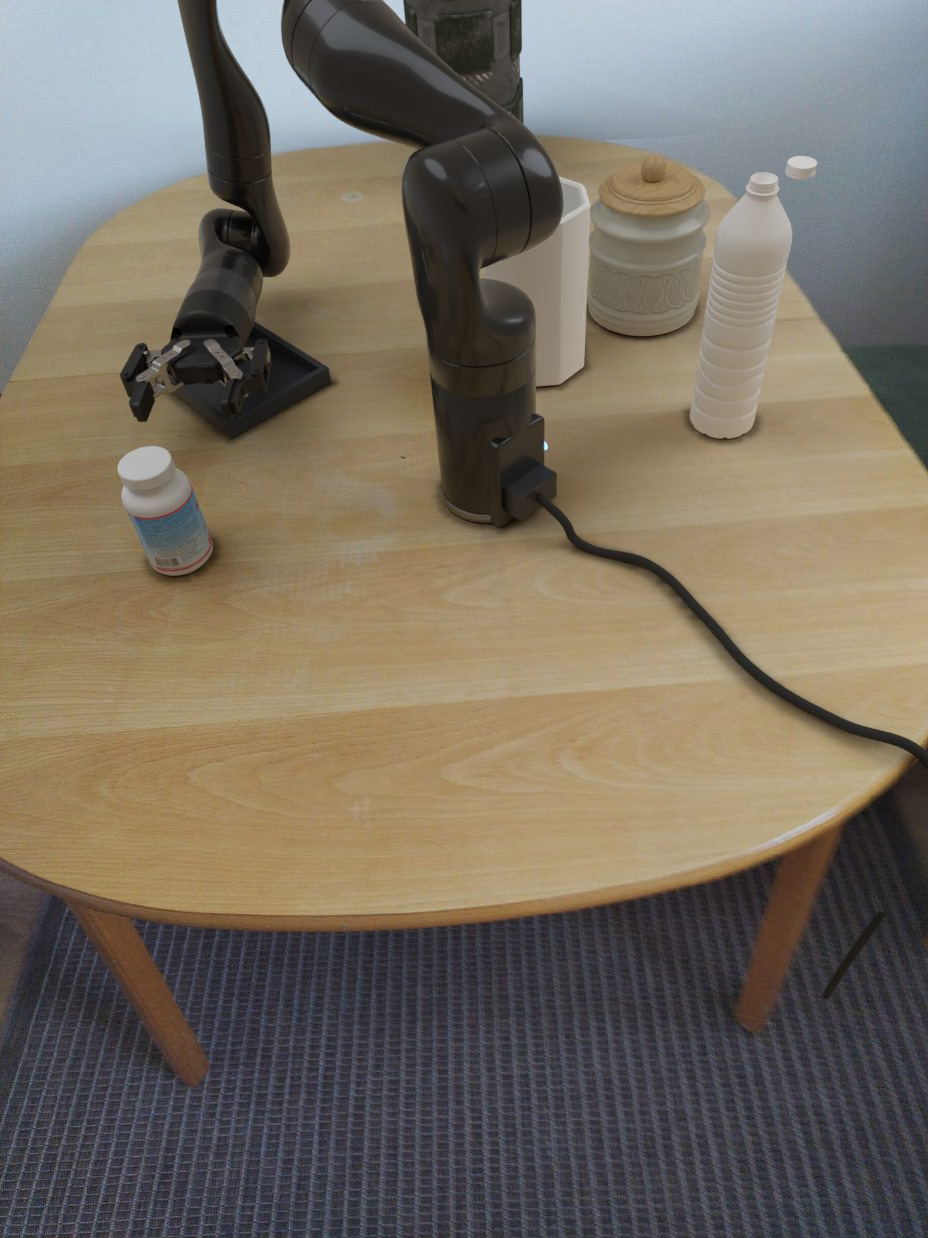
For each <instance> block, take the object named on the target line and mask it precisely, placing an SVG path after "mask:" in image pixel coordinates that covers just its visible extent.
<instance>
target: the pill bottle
mask: <svg viewBox="0 0 928 1238" xmlns="http://www.w3.org/2000/svg"><path fill="white" fill-rule="evenodd" d="M117 473H118V476H119V478H120V481H121V484H122V485H123V486H122V489H121V495H120V497H121V503H122V505H123V508H124V510H125V512H126V515H127V517H128V519H129V521H130V523H131V526H132V528H133V529H134V532H135V534H136V536H137V539H138V541H139V543H140V545H141V547H142V549H143V552H144V554H145V556H146V559H147V560H148V562H149V564H150V566H151V567H152V569H153V570H155V571H156V572H158V573H159V574H162V575H165V576H171V577H172V576H175V577H176V576H183V575H187V574H190V573H193V572H195V571H196V570H198V569H199V568H201V567H202V566H203V565H204V564H205V563H206V562H207V561H208V560H209V559H210V557H211V555H212V553H213V549H214V542H213V539H212V536H211V533H210V530H209V528H208V526H207V523H206V520H205V518H204V515H203V512H202V509H201V508H200V505H199V502H198V499H197V496H196V494H195V491H194V489H193V486H192V484H191V481H190V479H189V477H188V476H187V474H185V472H184V471H182V470H181V469H179V468H177V467H176V464H175V461H174V459H173V457H172V455H171V453H170V451H168V449H166V448H164V447H161V446H157V445H148V446H141V447H137V448H135V449H133V450H131V451H129V452H128V453H126V454H125V455H124V456H123V457H122V458H121V459H120V460H119V461H118V464H117Z"/></svg>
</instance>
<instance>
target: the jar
mask: <svg viewBox="0 0 928 1238" xmlns="http://www.w3.org/2000/svg"><path fill="white" fill-rule="evenodd" d="M705 195H706V187H705V184H704V182H703V181H702V180H701V179H700V178H699V177H698V176H696V175H694V174H692V172H690V171H689V170H687V169H686V168H685V167H683V166H681V165H677V164H675V163H670V162H666V161H665V159H664V158H663V157H662V156H661V155H659V154H651V155H648V156H646V157H645V159H644V160H643V161H641V162H636V163H632V164H629V165H628V164H627V165H625V166H623V167H622V168H620V169H618V170H616V172H614V173H612V174H610V175H609V176H607V177H606V178H604V180H602V182H601V183H600V185H599V187H598V197H597V198H596V199H595V201H594V202H593V203H592V205H591V206H590V221H591V222H592V224H593V230H592V232H591V233H590V234H589V266H588V283H587V306H588V312H589V315H590V316H591V318H592V319H593V320H594V321H595V322H596V323H597V324H598V325H599V326H601V327H602V328H605V329H607V330H609V331H611V332H615V333H617V334H621V335H626V336H634V337H652V336H653V337H654V336H658V335H659V336H660V335H663V334H667V333H671V332H674V331H676V330H678V329H680V328H682V327H683V326H685V325H686V324H688V323H689V322H690V321H691V320H692V318H693V316H694V314H695V311H696V308H697V307H698V303H699V299H700V294H701V293H700V292H701V291H700V280H701V273H702V265H703V259H704V251H705V250H706V247H707V237H706V234H705V233H704V227H705V226H706V225H707V224H708V222H709V220H710V218H711V209H710V206H709V204H708V202H707V201H706V200H705V199H704V198H705Z"/></svg>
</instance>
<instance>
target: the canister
mask: <svg viewBox="0 0 928 1238" xmlns="http://www.w3.org/2000/svg"><path fill="white" fill-rule="evenodd" d="M402 3H403V13H404V23H405V24H406V26H407V27H408V28H409V29H410V30H411V31H412V32H413V33H414V34H415V35H416V36H417V37H418V38H419V39H420V40H421V41H422V42H424V43H425V44H426V45H427V46H428V47H429V48H430V49H431V50H432V51H433V52H434V53H435V54H436V55H438V56H439V57H440V58H441V59H442V60H443V61H444V62H445V63H446V64H447V65H448V66H449V67H451V68H452V69H453V70H454V71H455V72H456V73H457V74H458V75H460V76H461V77H462V78H463V79H465V80H466V81H467V82H469V83H470V84H471V85H472V86H474V87H475V88H476V89H478V90H479V91H480V92H482V93H483V94H485V95H486V96H487V97H489V98H490V99H491V100H493V101H494V102H495V103H497V104H498V105H499V106H501V107H502V108H503V109H505V110H506V111H507V112H509V113H510V114H511V115H513V116H514V117H515V118H517V119H518V120H519V121H520V122H521V123H523V124H524V123H525V122H524V121H525V120H524V78H523V77H522V76H521V57H520V55H521V54H522V51H523V18H522V17H523V12H522V11H523V9H522V7H523V6H522V0H402ZM524 125H525V124H524ZM417 150H418V149H416V151H417Z"/></svg>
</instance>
